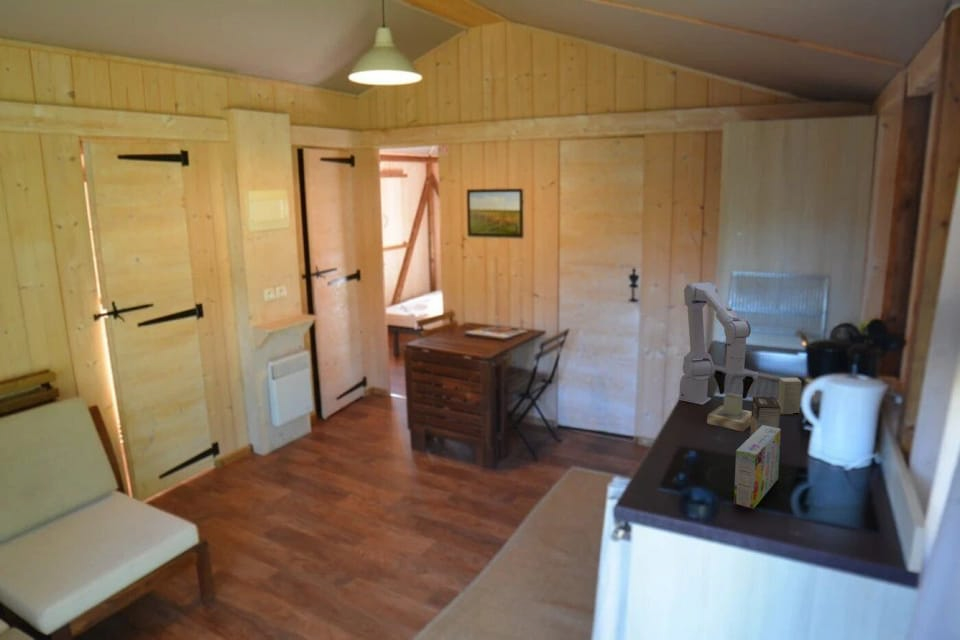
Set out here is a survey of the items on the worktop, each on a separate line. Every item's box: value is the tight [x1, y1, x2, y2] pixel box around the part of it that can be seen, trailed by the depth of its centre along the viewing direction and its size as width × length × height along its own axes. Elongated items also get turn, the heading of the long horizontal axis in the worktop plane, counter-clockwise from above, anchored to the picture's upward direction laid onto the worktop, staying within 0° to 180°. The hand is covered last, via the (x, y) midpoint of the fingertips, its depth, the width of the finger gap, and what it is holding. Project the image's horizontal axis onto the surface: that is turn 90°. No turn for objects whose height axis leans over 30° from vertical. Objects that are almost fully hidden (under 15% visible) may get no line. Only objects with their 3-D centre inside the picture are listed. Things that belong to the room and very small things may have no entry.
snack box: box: [733, 425, 782, 510], centre depth 173 cm, size 21×6×15 cm, turn 141°
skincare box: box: [777, 376, 803, 415], centre depth 229 cm, size 6×4×12 cm
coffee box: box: [749, 396, 781, 438], centre depth 197 cm, size 9×6×16 cm
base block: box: [706, 404, 752, 432], centre depth 222 cm, size 12×12×3 cm
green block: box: [722, 392, 744, 416], centre depth 222 cm, size 5×5×6 cm
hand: (733, 395), depth 221 cm, fingers open, 7 cm apart
